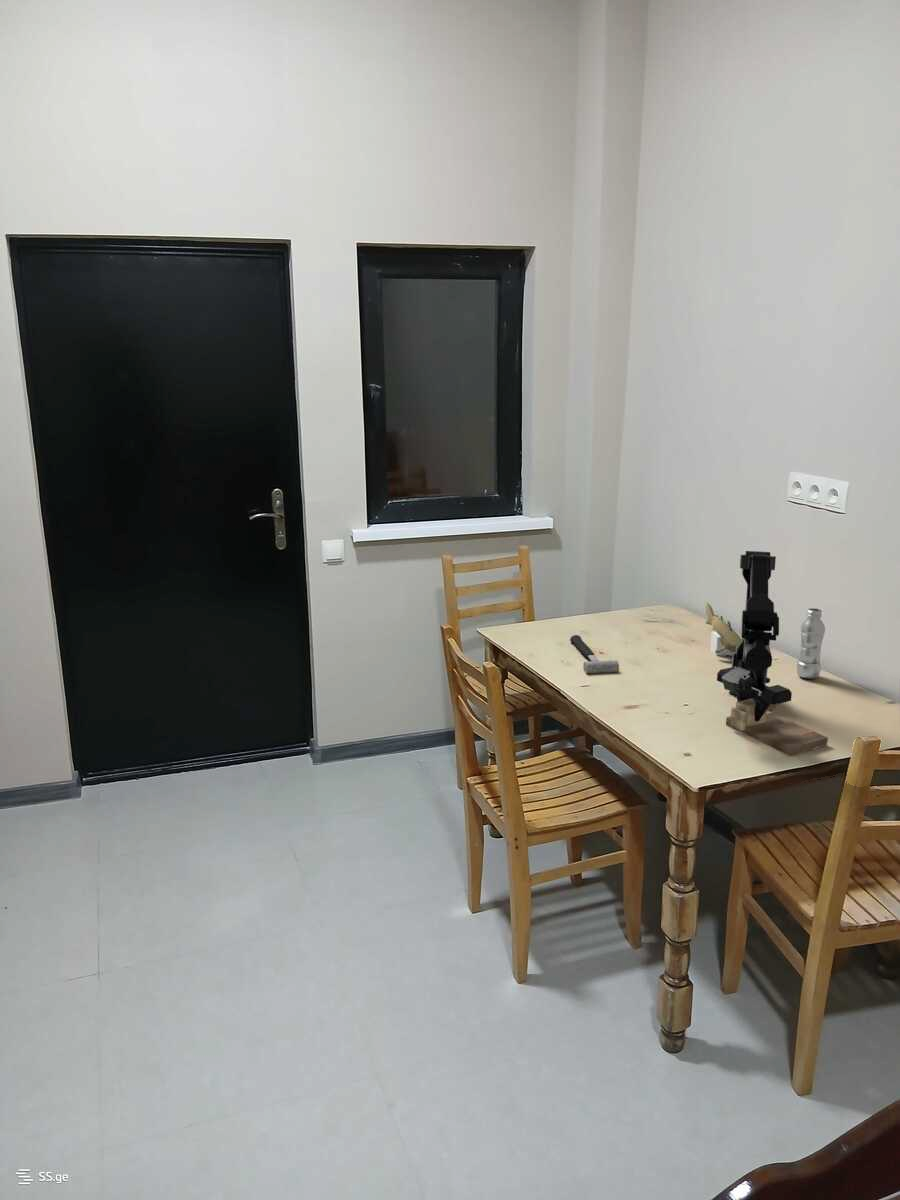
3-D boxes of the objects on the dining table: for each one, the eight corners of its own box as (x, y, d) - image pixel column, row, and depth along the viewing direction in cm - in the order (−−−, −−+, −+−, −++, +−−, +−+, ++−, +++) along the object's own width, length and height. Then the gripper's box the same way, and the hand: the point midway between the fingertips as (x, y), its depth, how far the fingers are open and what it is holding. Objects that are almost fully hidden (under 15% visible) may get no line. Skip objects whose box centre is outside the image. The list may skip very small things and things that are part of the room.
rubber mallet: (590, 633, 272) (619, 662, 243) (589, 643, 273) (618, 674, 244) (561, 634, 271) (586, 664, 242) (560, 645, 272) (586, 675, 243)
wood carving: (718, 633, 279) (720, 601, 277) (753, 668, 246) (756, 632, 243) (691, 633, 280) (693, 601, 277) (723, 669, 246) (726, 633, 243)
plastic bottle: (791, 677, 238) (798, 610, 233) (801, 671, 243) (808, 605, 238) (814, 683, 234) (821, 614, 229) (823, 676, 238) (831, 609, 233)
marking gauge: (730, 724, 204) (731, 703, 202) (765, 715, 209) (767, 694, 207) (742, 730, 200) (744, 708, 199) (778, 721, 205) (780, 699, 204)
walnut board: (725, 724, 207) (726, 716, 206) (761, 715, 212) (761, 708, 212) (790, 756, 190) (791, 747, 189) (827, 745, 195) (828, 737, 194)
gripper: (702, 651, 204) (697, 710, 208) (760, 674, 188) (754, 738, 192) (736, 644, 209) (731, 702, 213) (796, 666, 192) (789, 729, 197)
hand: (750, 717), depth 203 cm, fingers closed on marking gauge, 4 cm apart
